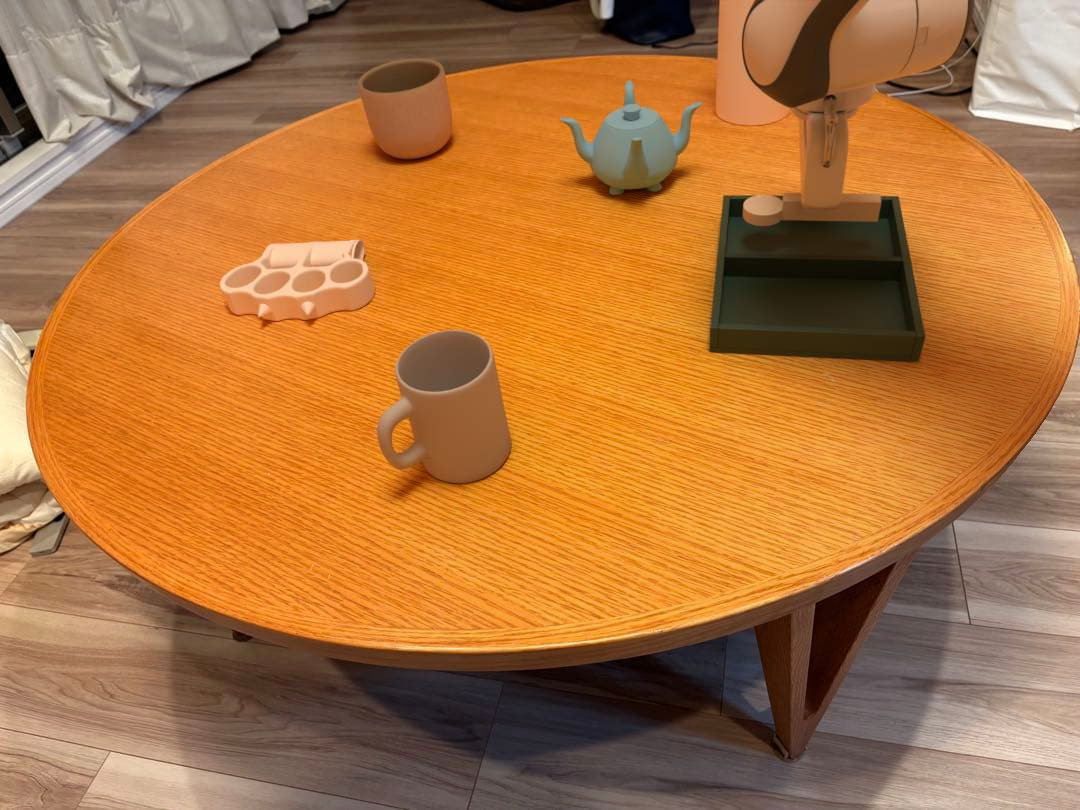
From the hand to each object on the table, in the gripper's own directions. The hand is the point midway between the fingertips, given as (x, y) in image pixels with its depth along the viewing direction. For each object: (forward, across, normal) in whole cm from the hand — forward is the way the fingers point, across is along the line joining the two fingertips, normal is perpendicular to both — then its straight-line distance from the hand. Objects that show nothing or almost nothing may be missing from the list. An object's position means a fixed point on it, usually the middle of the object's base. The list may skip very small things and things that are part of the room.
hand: (812, 202), depth 89 cm
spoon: (+2, 0, 0) cm, 2 cm away
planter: (+6, +26, +56) cm, 62 cm away
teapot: (+6, +16, +22) cm, 28 cm away
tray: (+6, -6, 0) cm, 9 cm away
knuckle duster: (+6, -11, +58) cm, 59 cm away
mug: (+6, -36, +32) cm, 49 cm away
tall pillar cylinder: (+6, +37, +7) cm, 38 cm away
